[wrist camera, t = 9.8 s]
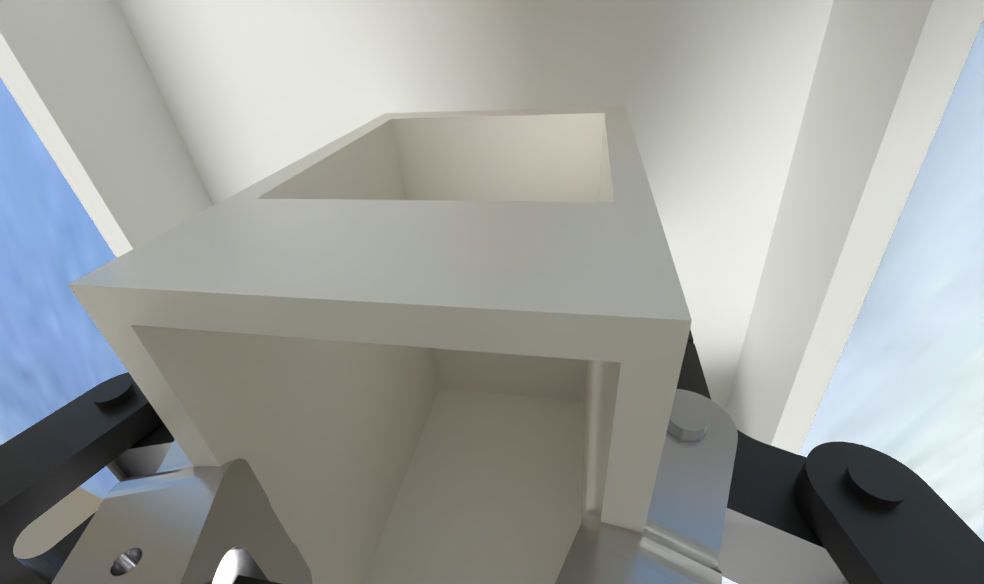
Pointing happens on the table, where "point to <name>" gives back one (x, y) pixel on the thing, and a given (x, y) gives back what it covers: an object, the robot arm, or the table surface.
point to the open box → (421, 341)
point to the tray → (534, 85)
